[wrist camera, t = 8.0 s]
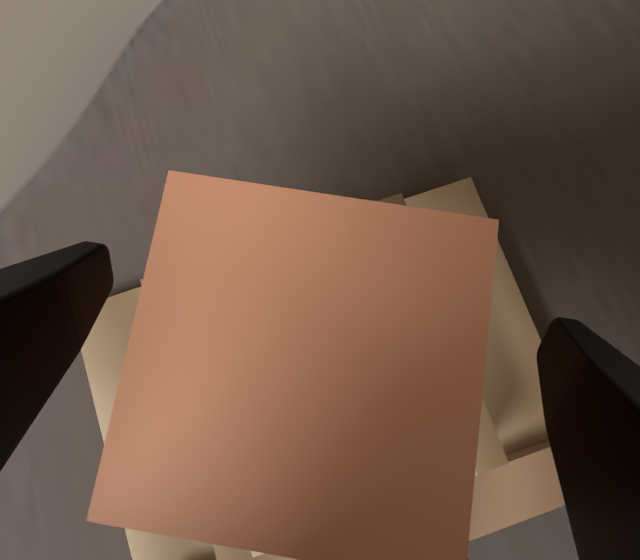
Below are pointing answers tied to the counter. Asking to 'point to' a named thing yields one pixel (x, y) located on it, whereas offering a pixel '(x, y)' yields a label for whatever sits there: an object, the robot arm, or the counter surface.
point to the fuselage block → (302, 375)
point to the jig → (495, 421)
